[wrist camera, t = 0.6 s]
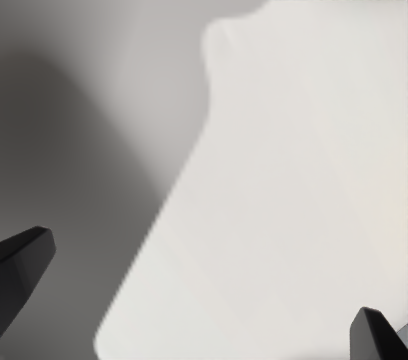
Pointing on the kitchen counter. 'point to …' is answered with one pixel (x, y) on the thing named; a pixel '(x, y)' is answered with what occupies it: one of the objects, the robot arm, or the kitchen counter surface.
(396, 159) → the kitchen counter surface
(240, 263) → the kitchen counter surface
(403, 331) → the board
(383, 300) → the kitchen counter surface
